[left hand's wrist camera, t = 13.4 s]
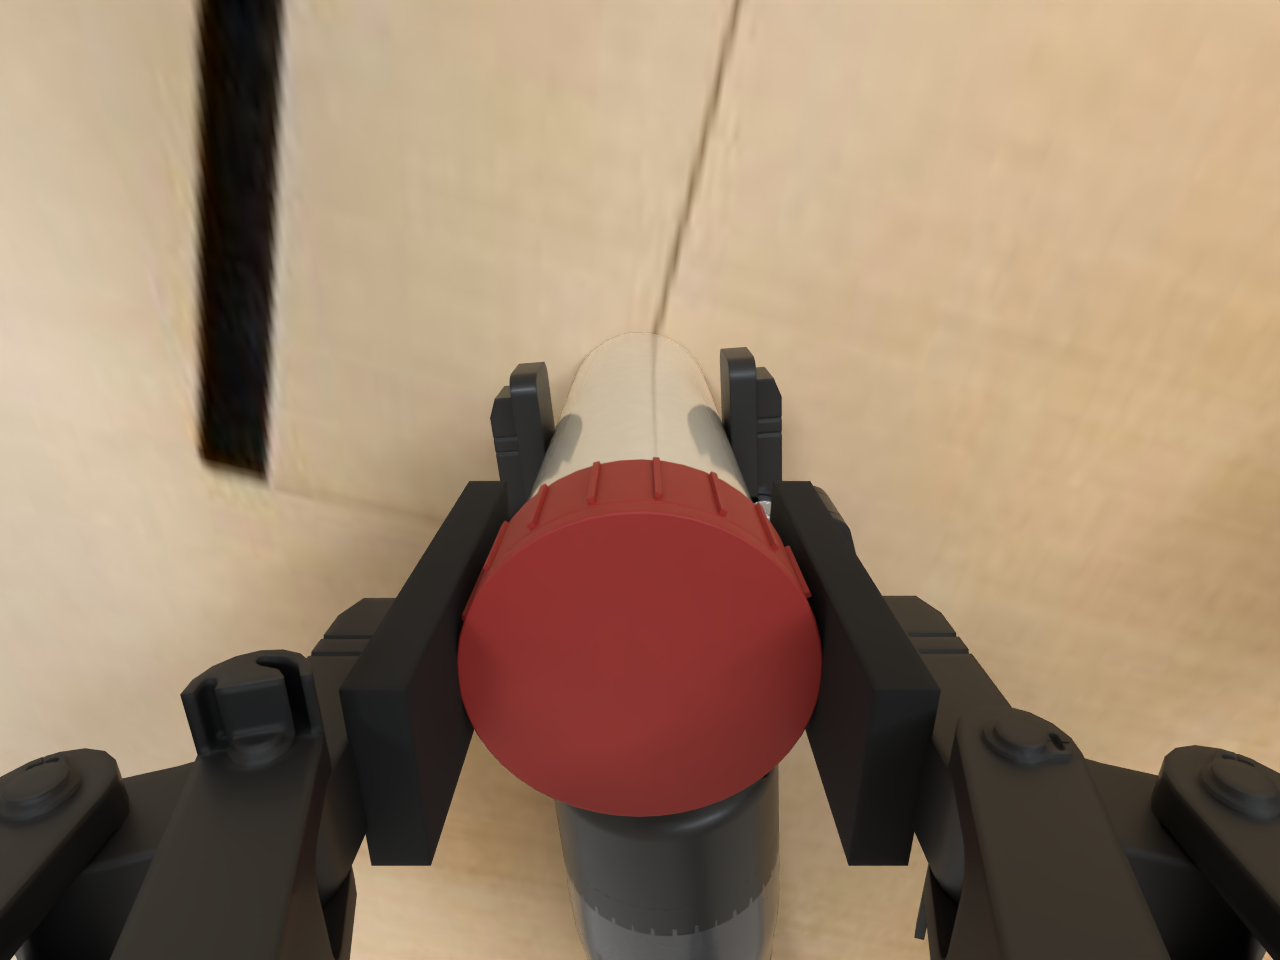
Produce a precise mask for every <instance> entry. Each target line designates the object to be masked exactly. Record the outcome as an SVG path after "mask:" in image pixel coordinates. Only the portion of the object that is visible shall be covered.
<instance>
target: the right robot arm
mask: <svg viewBox="0 0 1280 960" xmlns="http://www.w3.org/2000/svg"><path fill="white" fill-rule="evenodd" d="M720 374H721V402H722V424H723V427H724V429H725V432H726V434H727V437H728V440H729V442H730V445H731V447H732V450H733V453H734V455H735V458H736V460H737V463H738V466H739V468H740V471H741V473H742V476H743V478H744V481H745V484H746V486H747V489H748V491H749V494H750V497H751V499H752V502H753V503H754V504H755V505H756V504H757V503H758V502H759V503H760V504H761V505H762V506H763V508H764V511H765V513H766V516H767V518H768V519H769V521H770V510H771V496H772V483H773V481H782V434H781V431H782V420H781V416H782V397H781V394H780V392H779V390H778V387H777V385H776V383H775V380H774V378H773V377H772V376H771V374H770V373H769V372H768V371H767V369H766V368H765V367H758V368H756V365H755V360H754V357H753V355H752V354H751V353H750V351H749V350H748V349H747V347H740V348H727V349H721V350H720ZM490 419H491V426H492V432H493V437H494V444H495V450H496V456H497V463H498V469H499V475H500V481H507V489H508V502H509V516H510V520H511V519H512V518H513V516H514V515H515V514H516V513H517V512H518V511H519V510H520V509H521V508H522V506H523V505H524V504H525V503H526V502H527V501H528V498H529V496H530V493H531V490H532V488H533V485H534V483H535V480H536V477H537V475H538V472H539V470H540V467H541V465H542V462H543V459H544V457H545V454H546V452H547V449H548V446H549V444H550V441H551V439H552V436H553V434H554V431H555V427H554V419H553V411H552V404H551V396H550V388H549V380H548V373H547V368H546V364H545V362H537V363H524V364H519V365H518V366H517V367H516V368H515V370H514V371H513V372H512V374H511V376H510V386H504V388H503V389H502V390H501V392H500V393H499V394H498V396H497V397H496V398H495V401H494V405H493V409H492V413H491V417H490ZM813 487H814V488H815V490H816V491H817V493H818V495H819V496H820V498H821V499H822V501H823V503H824V504H825V506H826V507H827V509H828V511H829V512H830V514H831V515H832V517H833V518H834V520H835V522H836V523H837V525H838V526H839V528H840V530H841V531H842V533H843V534H844V536H845V538H846V539H847V541H848V542H849V544H850V546H851V547H852V549H853V550H854V552H855V548H854V544H853V540H852V536H851V532H850V529H849V528H848V526H847V524H846V523H845V521H844V520H843V518H842V517H841V515H840V514H839V512H838V511H837V509H836V508H835V506H834V504H833V503H832V501H831V500H830V499H829V497H828V495H827V494H826V493H825V491H824V490H822V489H821V488H819V487H816V486H813ZM855 554H856V552H855ZM555 805H556V811H557V817H558V824H559V830H560V836H561V842H562V849H563V855H564V861H565V867H566V874H567V880H568V887H569V893H570V899H571V905H572V909H573V914H574V919H575V923H576V927H577V930H578V933H579V936H580V939H581V941H582V944H583V947H584V949H585V952H586V955H587V960H773V935H774V930H775V926H776V920H777V913H778V904H779V800H778V764H777V765H776V766H775V767H774V768H773V769H772V770H771V771H769V772H768V773H767V774H766V775H764V776H763V777H762V778H761V779H760V780H758V781H756V782H755V783H753V784H752V785H750V786H749V787H747V788H745V789H744V790H742V791H740V792H738V793H736V794H734V795H732V796H730V797H728V798H726V799H724V800H722V801H719V802H716V803H714V804H711V805H708V806H705V807H702V808H698V809H694V810H690V811H686V812H682V813H676V814H669V815H662V816H644V817H634V816H616V815H610V814H604V813H597V812H593V811H589V810H585V809H581V808H578V807H574V806H571V805H569V804H566V803H563V802H561V801H558V800H555Z"/></svg>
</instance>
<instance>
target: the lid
mask: <svg viewBox="0 0 1280 960" xmlns="http://www.w3.org/2000/svg"><path fill="white" fill-rule="evenodd" d="M811 596H812V595H811V593H810V591H809V588H808V586H807V584H806V582H805V579H804V577H803V575H802V573H801V570H800V568H799V566H798V564H797V561H796V559H795V557H794V555H793V553H792V550H791V548H790V546H786V547H784V545H783V543H782V541H781V539H780V536H779V535H778V533H777V532H776V530H775V528H774V527H773V525H772V524H771V522H770V521H769V519H768V518H767V516H766V513H765V511H764V508H763V506H762V505H761V504H760V503H759V502H758V503H757V504H756V505H755V504H754V503H753V502H752V501H751V500H750V499H748V498H747V497H746V496H745V495H744V494H743V493H741V492H740V491H739V490H737V489H735V488H734V487H732V486H731V485H729V484H728V483H726V482H725V481H723V480H721V479H719V478H718V476H717V473H715V472H712V471H711V472H710V474H709V473H706V472H704V471H701V470H698V469H695V468H692V467H689V466H686V465H682V464H677V463H672V462H667V461H660V458H659V457H653V460H645V459H636V460H619V461H613V462H608V463H602V464H600V461H597V462H593V466H591V467H588V468H584V469H581V470H578V471H576V472H573V473H571V474H569V475H567V476H565V477H563V478H560V479H558V480H557V481H555V482H553V483H552V484H550V485H549V486H547V485H546V484H543V485H542V486H540V489H539V492H538V493H537V494H536V495H535V496H534V497H532V498H531V499H530V500H529V501H528V502H526V503H525V504H524V505H523V506H522V508H521V509H520V510H519V511H518V512H517V513H516V514H515V515H514V516H513V518H512V519H511V520H510V522H509V523H508V522H507V521H504V522H503V524H502V525H501V528H500V530H499V532H498V535H497V537H496V539H495V541H494V544H493V546H492V548H491V551H490V553H489V555H488V557H487V560H486V562H485V564H484V566H483V568H482V570H481V573H480V575H479V577H478V579H477V582H476V584H475V586H474V588H473V591H472V593H471V595H470V598H469V600H468V602H467V604H466V607H465V609H464V611H463V613H462V621H464V622H463V625H462V629H461V632H460V635H459V642H458V650H457V666H458V676H459V685H460V693H461V698H462V701H463V704H464V707H465V710H466V713H467V715H468V717H469V719H470V721H471V723H472V725H473V727H474V729H475V731H476V733H477V734H478V736H479V737H480V739H481V740H482V742H483V743H484V744H485V746H486V747H487V749H488V750H489V751H490V752H491V753H492V754H493V755H494V756H495V758H496V759H497V760H498V761H499V762H500V763H501V764H502V765H503V766H504V767H505V768H507V769H508V770H509V771H510V772H511V773H513V774H514V775H515V776H516V777H517V778H519V779H520V780H522V781H523V782H525V783H526V784H528V785H529V786H531V787H532V788H534V789H535V790H537V791H539V792H541V793H543V794H545V795H547V796H549V797H551V798H553V799H555V800H558V801H561V802H563V803H566V804H569V805H571V806H574V807H578V808H581V809H585V810H589V811H593V812H597V813H604V814H610V815H616V816H634V817H644V816H662V815H669V814H676V813H682V812H686V811H690V810H694V809H698V808H702V807H705V806H708V805H711V804H714V803H716V802H719V801H722V800H724V799H726V798H728V797H730V796H732V795H734V794H736V793H738V792H740V791H742V790H744V789H745V788H747V787H749V786H750V785H752V784H753V783H755V782H756V781H758V780H760V779H761V778H762V777H763V776H764V775H766V774H767V773H768V772H769V771H771V770H772V769H773V768H774V767H775V766H776V765H777V764H778V763H779V762H780V761H781V760H782V759H783V758H784V757H785V756H786V755H787V754H788V753H789V752H790V750H791V749H792V748H793V746H794V745H795V744H796V742H797V741H798V740H799V738H800V737H801V735H802V734H803V732H804V730H805V728H806V726H807V724H808V723H809V721H810V719H811V716H812V714H813V711H814V708H815V706H816V703H817V700H818V696H819V689H820V681H821V672H822V662H823V654H822V646H821V638H820V634H819V630H818V627H817V623H816V620H815V617H814V615H813V612H812V610H811V608H810V605H809V603H808V601H807V598H809V597H811Z"/></svg>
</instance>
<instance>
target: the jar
mask: <svg viewBox="0 0 1280 960" xmlns="http://www.w3.org/2000/svg"><path fill="white" fill-rule="evenodd" d="M653 457H659V458H660V461H667V462H672V463H677V464H682V465H686V466H689V467H692V468H695V469H698V470H701V471H704V472H706V473H709V474H710V472H711V471H712V472H715V473H717V476H718V478H719V479H721V480H723V481H725V482H726V483H728V484H729V485H731V486H732V487H734V488H735V489H737V490H739V491H740V492H741V493H743V494H744V495H745V496H746V497H747V498H748V499H750V500H751V501H752V499H751V497H750V494H749V491H748V489H747V486H746V484H745V481H744V478H743V476H742V473H741V471H740V468H739V466H738V463H737V460H736V458H735V455H734V453H733V450H732V447H731V445H730V442H729V440H728V437H727V434H726V432H725V429H724V427H723V424H722V422H721V419H720V416H719V414H718V411H717V409H716V406H715V403H714V401H713V398H712V396H711V393H710V390H709V388H708V385H707V383H706V380H705V377H704V375H703V373H702V371H701V368H700V367H699V365H698V364H697V362H696V360H695V359H694V358H693V357H692V356H691V354H690V353H689V352H688V351H687V350H685V349H684V348H683V347H682V346H680V345H679V344H678V343H676V342H674V341H672V340H670V339H668V338H666V337H663V336H660V335H657V334H652V333H643V332H637V333H628V334H622V335H619V336H616V337H613V338H611V339H609V340H607V341H605V342H604V343H602V344H601V345H599V346H598V347H597V348H595V349H594V350H593V351H592V352H591V353H590V354H589V355H588V356H587V357H586V359H585V360H584V361H583V363H582V365H581V366H580V368H579V370H578V372H577V374H576V377H575V379H574V382H573V384H572V387H571V390H570V392H569V395H568V397H567V400H566V402H565V405H564V408H563V410H562V413H561V415H560V418H559V421H558V423H557V426H556V428H555V431H554V434H553V436H552V439H551V441H550V444H549V446H548V449H547V452H546V454H545V457H544V459H543V462H542V465H541V467H540V470H539V472H538V475H537V477H536V480H535V483H534V485H533V488H532V490H531V493H530V496H529V498H528V501H529V500H530V499H531V498H532V497H534V496H535V495H536V494H537V493H538V492H539V489H540V486H542V485H543V484H546V485H547V486H549V485H550V484H552V483H553V482H555V481H557V480H558V479H560V478H563V477H565V476H567V475H569V474H571V473H573V472H576V471H578V470H581V469H584V468H588V467H591V466H593V462H597V461H600V464H602V463H608V462H613V461H619V460H636V459H645V460H653ZM528 501H527V502H528Z"/></svg>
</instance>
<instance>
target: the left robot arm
mask: <svg viewBox="0 0 1280 960" xmlns="http://www.w3.org/2000/svg"><path fill="white" fill-rule="evenodd" d="M504 521H507V522H508V523H509V522H510V516H509V502H508V489H507V481H469V483H468V484H467V486H466V487H465V489H464V491H463V492H462V494H461V495H460V497H459V499H458V500H457V502H456V503H455V505H454V507H453V508H452V510H451V511H450V513H449V515H448V516H447V518H446V519H445V521H444V523H443V524H442V526H441V527H440V529H439V531H438V532H437V534H436V535H435V537H434V538H433V540H432V542H431V543H430V545H429V546H428V548H427V550H426V551H425V553H424V554H423V556H422V558H421V559H420V561H419V562H418V564H417V566H416V567H415V569H414V570H413V572H412V574H411V575H410V577H409V578H408V580H407V582H406V583H405V585H404V586H403V588H402V590H401V591H400V593H399V594H398V596H397V597H396V598H364V599H362V600H361V601H359V602H358V603H356V604H355V605H353V606H352V607H350V608H349V609H347V610H346V611H344V612H343V613H341V614H340V615H339V616H338V617H337V618H336V620H335V621H334V622H333V624H332V625H331V626H330V628H329V629H328V630H327V632H326V633H325V634H324V639H321V640H320V641H319V642H318V644H317V645H316V646H315V648H314V649H313V651H312V654H311V656H308V657H307V659H306V658H305V657H304V656H303V655H301V654H300V653H296V652H291V651H287V650H261V651H257V652H252V653H248V654H244V655H240V656H236V657H233V658H231V659H229V660H226V661H224V662H222V663H219V664H217V665H215V666H212V667H211V668H209V669H208V670H206V671H205V672H203V673H202V674H200V675H199V676H198V677H196V678H195V679H193V680H192V681H191V682H190V684H189V685H188V686H187V687H186V688H185V690H184V691H183V692H182V693H181V694H180V695H181V699H182V702H183V706H184V709H185V713H186V716H187V719H188V723H189V726H190V730H191V733H192V737H193V740H194V744H195V747H196V751H197V754H198V755H197V758H196V760H195V762H191V763H188V764H184V765H181V766H177V767H173V768H168V769H164V770H159V771H155V772H150V773H145V774H141V775H136V776H132V777H127V778H123V779H122V777H121V774H120V771H119V768H118V765H117V762H116V760H115V759H114V758H113V757H112V756H110V755H109V754H108V753H107V752H105V751H101V750H93V749H86V748H85V749H78V750H71V751H64V752H58V753H55V754H52V755H48V756H46V757H43V758H42V757H41V758H39V759H36V760H34V761H31V762H28V763H27V764H25V765H23V766H21V767H19V768H17V769H15V770H13V771H11V772H9V773H7V774H5V775H4V776H2V777H0V960H11V958H12V957H13V956H14V955H15V956H16V958H17V960H350V952H351V942H352V933H353V924H354V915H355V906H356V897H357V893H356V885H355V878H354V873H353V869H352V864H353V861H354V859H355V857H356V854H357V852H358V850H359V848H360V845H361V843H362V841H363V839H364V836H365V834H366V838H367V844H368V849H369V854H370V860H371V865H372V866H431V863H432V860H433V857H434V854H435V851H436V848H437V845H438V841H439V838H440V835H441V832H442V829H443V826H444V823H445V819H446V816H447V813H448V810H449V807H450V804H451V801H452V797H453V794H454V791H455V788H456V785H457V782H458V779H459V775H460V772H461V769H462V766H463V763H464V760H465V757H466V753H467V750H468V747H469V744H470V741H471V738H472V735H473V731H474V727H473V725H472V723H471V721H470V719H469V717H468V715H467V713H466V710H465V707H464V704H463V701H462V698H461V693H460V685H459V676H458V666H457V650H458V642H459V635H460V632H461V629H462V625H463V622H464V621H462V613H463V611H464V609H465V607H466V604H467V602H468V600H469V598H470V595H471V593H472V591H473V588H474V586H475V584H476V582H477V579H478V577H479V575H480V573H481V570H482V568H483V566H484V564H485V562H486V560H487V557H488V555H489V553H490V551H491V548H492V546H493V544H494V541H495V539H496V537H497V535H498V532H499V530H500V528H501V525H502V524H503V522H504ZM770 522H771V524H772V525H773V527H774V528H775V530H776V532H777V533H778V535H779V536H780V539H781V541H782V543H783V545H784V547H786V546H790V548H791V550H792V553H793V555H794V557H795V559H796V561H797V564H798V566H799V568H800V570H801V573H802V575H803V577H804V579H805V582H806V584H807V586H808V588H809V591H810V593H811V595H812V596H811V597H809V598H807V601H808V603H809V605H810V608H811V610H812V612H813V615H814V617H815V620H816V623H817V627H818V630H819V634H820V638H821V646H822V654H823V662H822V672H821V681H820V689H819V696H818V700H817V703H816V706H815V708H814V711H813V714H812V716H811V719H810V721H809V723H808V724H807V726H806V728H805V730H806V733H807V736H808V739H809V742H810V745H811V749H812V752H813V755H814V758H815V761H816V764H817V767H818V771H819V774H820V777H821V780H822V783H823V786H824V789H825V793H826V796H827V799H828V802H829V805H830V808H831V811H832V815H833V818H834V821H835V824H836V827H837V830H838V833H839V837H840V840H841V843H842V846H843V849H844V852H845V855H846V858H847V862H848V865H849V866H908V863H909V857H910V852H911V847H912V841H913V836H914V831H915V834H916V836H917V838H918V841H919V843H920V845H921V847H922V850H923V852H924V854H925V856H926V859H927V861H928V863H929V864H928V869H927V873H926V878H925V883H924V888H923V893H922V898H921V903H920V908H919V913H918V918H917V923H916V930H915V937H914V938H918V939H922V940H924V938H925V933H926V928H927V931H928V941H929V950H930V959H931V960H1262V959H1263V956H1264V954H1265V952H1266V951H1267V952H1268V954H1269V955H1270V956H1271V957H1272V958H1273V960H1280V773H1278V772H1276V771H1274V770H1272V769H1270V768H1268V767H1266V766H1264V765H1262V764H1260V763H1258V762H1256V761H1255V760H1253V759H1250V758H1248V757H1245V756H1242V755H1240V754H1235V753H1234V752H1230V751H1226V750H1223V749H1218V748H1211V747H1204V746H1197V745H1193V746H1186V747H1179V748H1175V749H1174V750H1172V751H1171V752H1170V753H1169V754H1167V755H1166V756H1165V758H1164V760H1163V763H1162V766H1161V769H1160V772H1159V775H1158V776H1157V775H1153V774H1148V773H1144V772H1139V771H1135V770H1130V769H1126V768H1121V767H1117V766H1112V765H1107V764H1103V763H1099V762H1096V761H1092V760H1089V759H1085V758H1084V756H1083V754H1082V753H1081V751H1080V750H1079V748H1078V747H1077V746H1076V744H1075V743H1074V741H1073V740H1072V739H1071V737H1069V736H1068V735H1067V734H1065V733H1064V732H1063V731H1062V730H1060V729H1059V728H1058V727H1056V726H1055V725H1054V724H1053V723H1050V722H1048V721H1046V720H1044V719H1042V718H1040V717H1038V716H1036V715H1034V714H1032V713H1030V712H1026V711H1022V710H1019V709H1015V708H1012V707H1011V706H1010V704H1009V703H1008V702H1007V700H1006V699H1005V698H1004V696H1003V695H1002V694H1001V692H1000V691H999V690H998V688H997V687H996V686H995V684H994V683H993V682H992V680H991V679H990V678H989V676H988V675H987V673H986V672H985V671H984V669H983V668H982V667H981V665H980V664H979V663H978V661H977V660H976V659H975V657H974V656H973V655H972V654H969V652H968V650H969V649H968V648H967V647H966V645H965V644H964V643H963V641H962V640H961V639H960V637H956V632H955V631H954V629H953V628H952V627H951V625H950V624H949V623H948V621H947V620H946V619H945V617H944V616H943V615H942V613H941V612H939V611H938V610H936V609H935V608H933V607H932V606H930V605H929V604H927V603H926V602H924V601H923V600H921V599H920V598H918V597H917V596H882V595H881V593H880V592H879V590H878V589H877V587H876V585H875V584H874V582H873V581H872V579H871V577H870V576H869V574H868V573H867V571H866V570H865V568H864V566H863V565H862V563H861V562H860V560H859V558H858V557H857V555H856V554H855V552H854V550H853V549H852V547H851V546H850V544H849V542H848V541H847V539H846V538H845V536H844V534H843V533H842V531H841V530H840V528H839V526H838V525H837V523H836V522H835V520H834V518H833V517H832V515H831V514H830V512H829V511H828V509H827V507H826V506H825V504H824V503H823V501H822V499H821V498H820V496H819V495H818V493H817V491H816V490H815V488H814V487H813V485H812V483H811V482H810V481H773V483H772V496H771V510H770Z"/></svg>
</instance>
